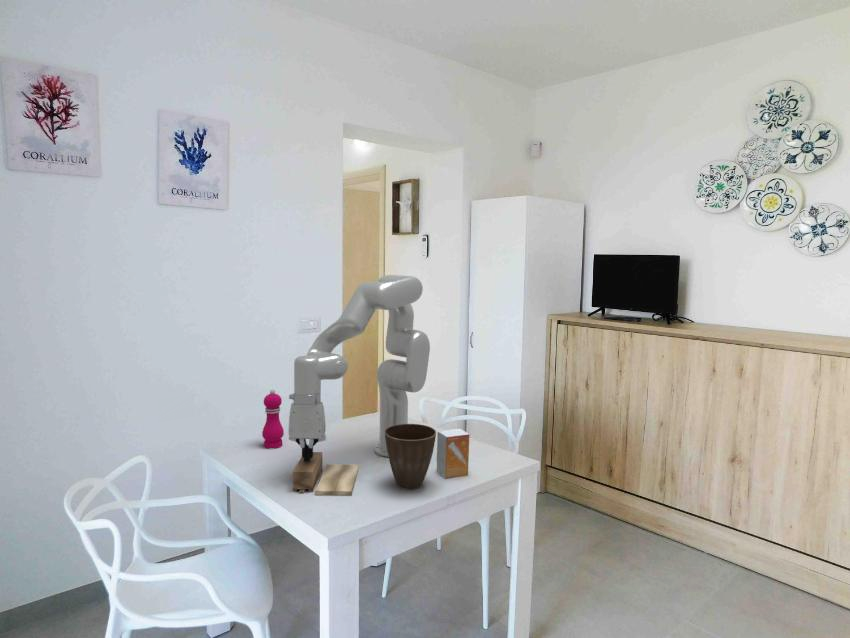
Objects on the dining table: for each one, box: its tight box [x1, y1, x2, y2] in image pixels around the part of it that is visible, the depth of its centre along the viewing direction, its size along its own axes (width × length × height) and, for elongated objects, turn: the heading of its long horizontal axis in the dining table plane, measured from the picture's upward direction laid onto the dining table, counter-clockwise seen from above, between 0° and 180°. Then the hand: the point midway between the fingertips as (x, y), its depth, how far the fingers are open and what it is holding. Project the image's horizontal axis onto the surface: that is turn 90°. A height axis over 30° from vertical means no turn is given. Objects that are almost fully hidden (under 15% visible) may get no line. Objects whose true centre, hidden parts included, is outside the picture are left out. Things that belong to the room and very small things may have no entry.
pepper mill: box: [261, 389, 285, 449], centre depth 191 cm, size 7×7×20 cm
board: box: [298, 463, 360, 497], centre depth 162 cm, size 15×20×1 cm
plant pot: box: [385, 423, 437, 490], centre depth 160 cm, size 15×15×16 cm
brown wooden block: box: [292, 451, 323, 493], centre depth 162 cm, size 6×16×6 cm, turn 1°
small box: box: [436, 428, 470, 479], centre depth 169 cm, size 8×6×13 cm
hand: (307, 459), depth 161 cm, fingers closed
